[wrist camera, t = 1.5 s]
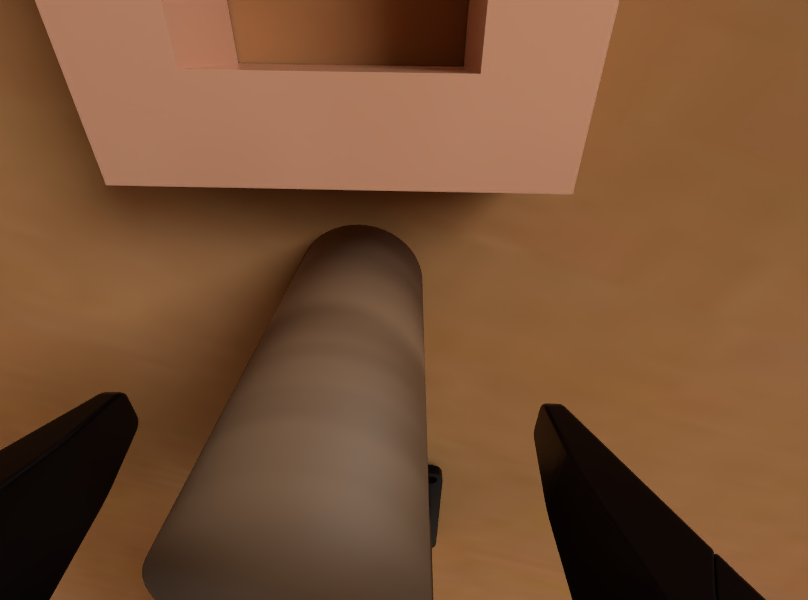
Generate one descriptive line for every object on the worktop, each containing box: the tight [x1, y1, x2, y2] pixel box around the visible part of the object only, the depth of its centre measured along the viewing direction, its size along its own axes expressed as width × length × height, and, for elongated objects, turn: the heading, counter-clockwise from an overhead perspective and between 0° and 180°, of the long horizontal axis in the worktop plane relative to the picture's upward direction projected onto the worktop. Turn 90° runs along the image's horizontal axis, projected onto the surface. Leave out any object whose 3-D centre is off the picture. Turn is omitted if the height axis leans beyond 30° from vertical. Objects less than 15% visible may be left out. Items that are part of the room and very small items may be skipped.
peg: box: [142, 225, 432, 600], centre depth 9 cm, size 4×4×9 cm
